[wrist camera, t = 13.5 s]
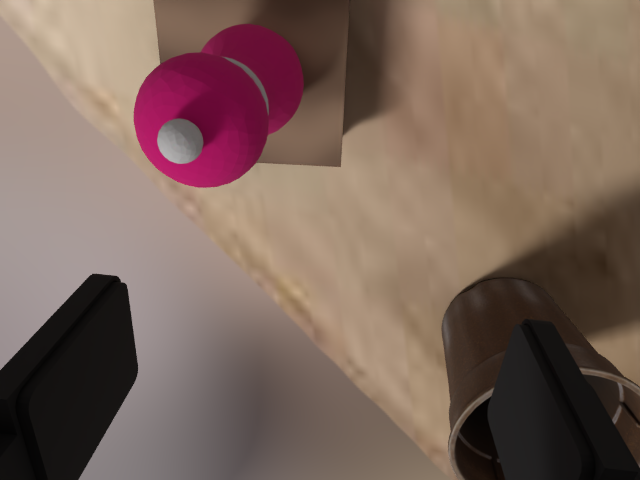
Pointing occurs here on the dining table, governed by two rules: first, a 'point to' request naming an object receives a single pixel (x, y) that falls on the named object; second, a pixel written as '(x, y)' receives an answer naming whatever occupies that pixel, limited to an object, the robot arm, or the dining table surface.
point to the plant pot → (486, 359)
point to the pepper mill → (218, 105)
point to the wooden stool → (310, 46)
